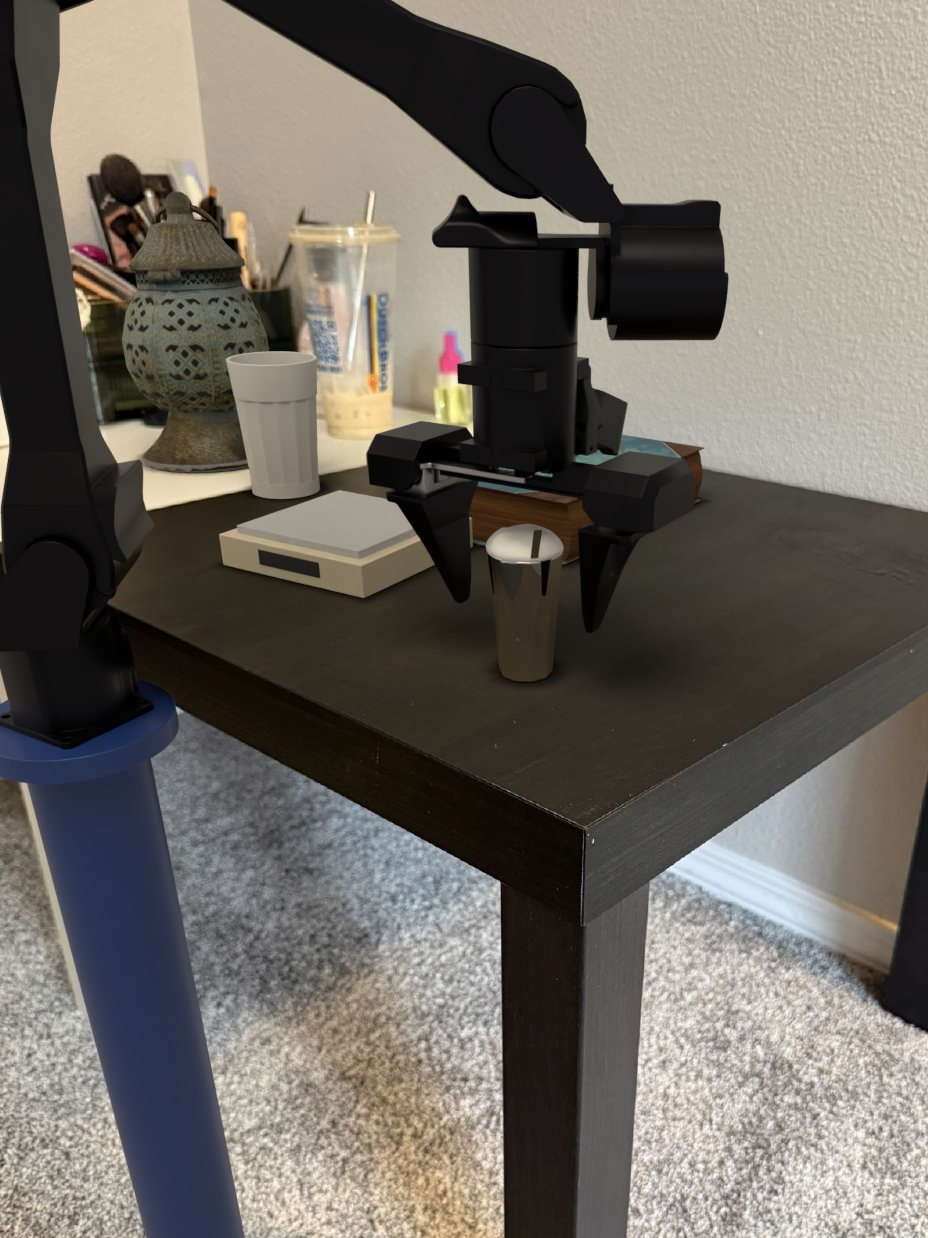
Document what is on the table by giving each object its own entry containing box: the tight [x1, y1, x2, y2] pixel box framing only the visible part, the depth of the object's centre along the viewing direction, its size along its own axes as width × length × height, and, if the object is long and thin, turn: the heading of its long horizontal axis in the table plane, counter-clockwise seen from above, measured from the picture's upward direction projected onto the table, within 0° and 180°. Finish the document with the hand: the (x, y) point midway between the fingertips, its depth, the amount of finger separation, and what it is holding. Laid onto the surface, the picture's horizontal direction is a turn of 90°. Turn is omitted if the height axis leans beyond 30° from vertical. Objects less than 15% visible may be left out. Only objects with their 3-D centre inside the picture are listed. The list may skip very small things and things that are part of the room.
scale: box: [218, 489, 474, 599], centre depth 86 cm, size 14×14×3 cm
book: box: [469, 434, 705, 566], centre depth 96 cm, size 23×18×5 cm
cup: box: [226, 350, 321, 500], centre depth 101 cm, size 8×8×12 cm
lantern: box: [121, 191, 270, 474], centre depth 109 cm, size 14×14×25 cm
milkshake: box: [485, 524, 564, 683], centre depth 65 cm, size 4×5×10 cm
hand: (525, 615), depth 65 cm, fingers open, 9 cm apart
